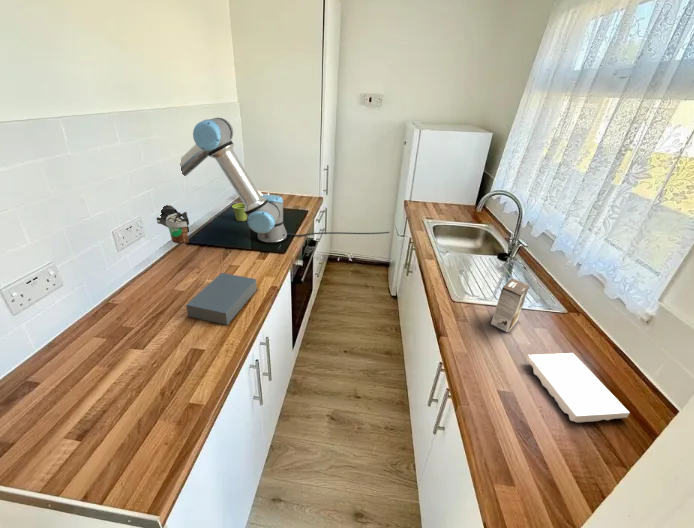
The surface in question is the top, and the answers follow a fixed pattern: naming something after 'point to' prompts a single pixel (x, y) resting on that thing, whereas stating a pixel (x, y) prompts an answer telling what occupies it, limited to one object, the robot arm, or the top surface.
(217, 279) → the grey rectangular block
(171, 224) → the food container
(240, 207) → the plant pot
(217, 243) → the top surface
